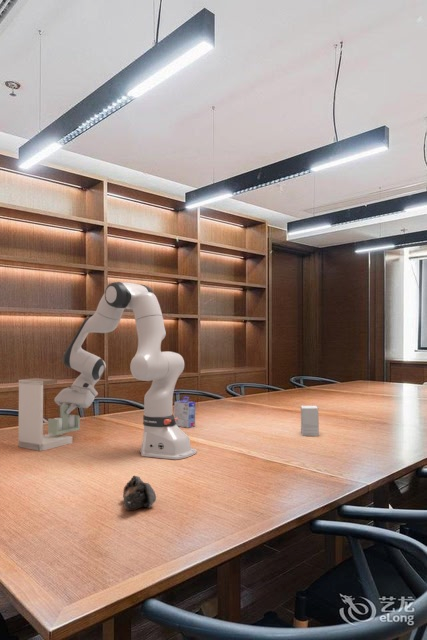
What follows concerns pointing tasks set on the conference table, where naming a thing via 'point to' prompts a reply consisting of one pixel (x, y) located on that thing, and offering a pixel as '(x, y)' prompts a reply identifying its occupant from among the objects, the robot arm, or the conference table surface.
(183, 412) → the ink cartridge box
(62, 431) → the glass caddy
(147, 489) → the bison figurine
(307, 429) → the supplement box
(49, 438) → the white c-shaped upright piece
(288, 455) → the conference table surface
